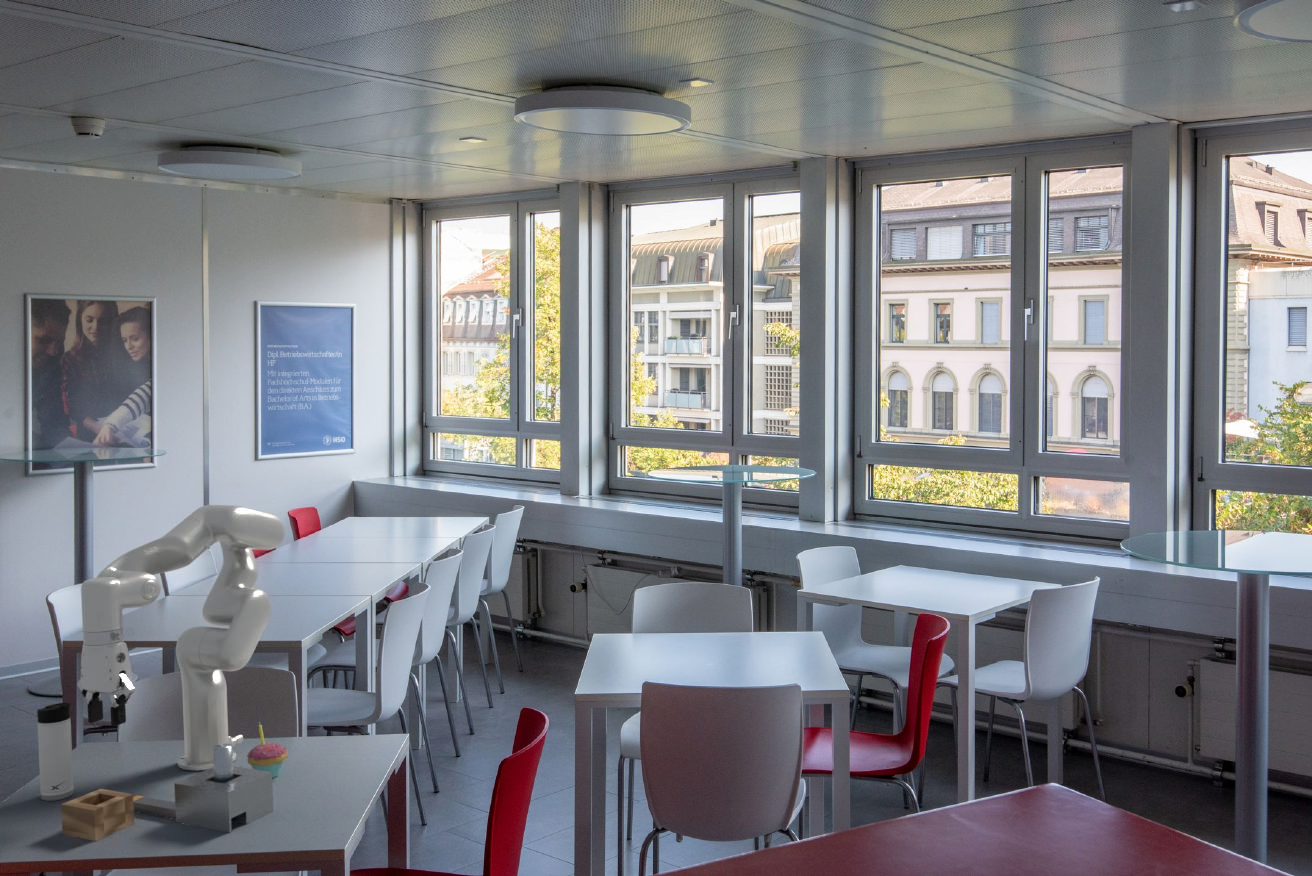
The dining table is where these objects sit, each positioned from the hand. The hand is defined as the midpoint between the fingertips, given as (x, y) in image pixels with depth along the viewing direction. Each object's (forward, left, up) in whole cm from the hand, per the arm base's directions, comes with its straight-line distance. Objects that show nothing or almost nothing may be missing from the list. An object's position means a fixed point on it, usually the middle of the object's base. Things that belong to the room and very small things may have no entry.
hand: (107, 721), depth 233 cm
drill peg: (-3, +28, -14) cm, 32 cm away
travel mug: (+1, -15, -18) cm, 23 cm away
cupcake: (-25, +19, -18) cm, 36 cm away
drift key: (0, +14, -17) cm, 22 cm away
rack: (+11, +9, -18) cm, 22 cm away
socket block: (-3, +28, -18) cm, 33 cm away
